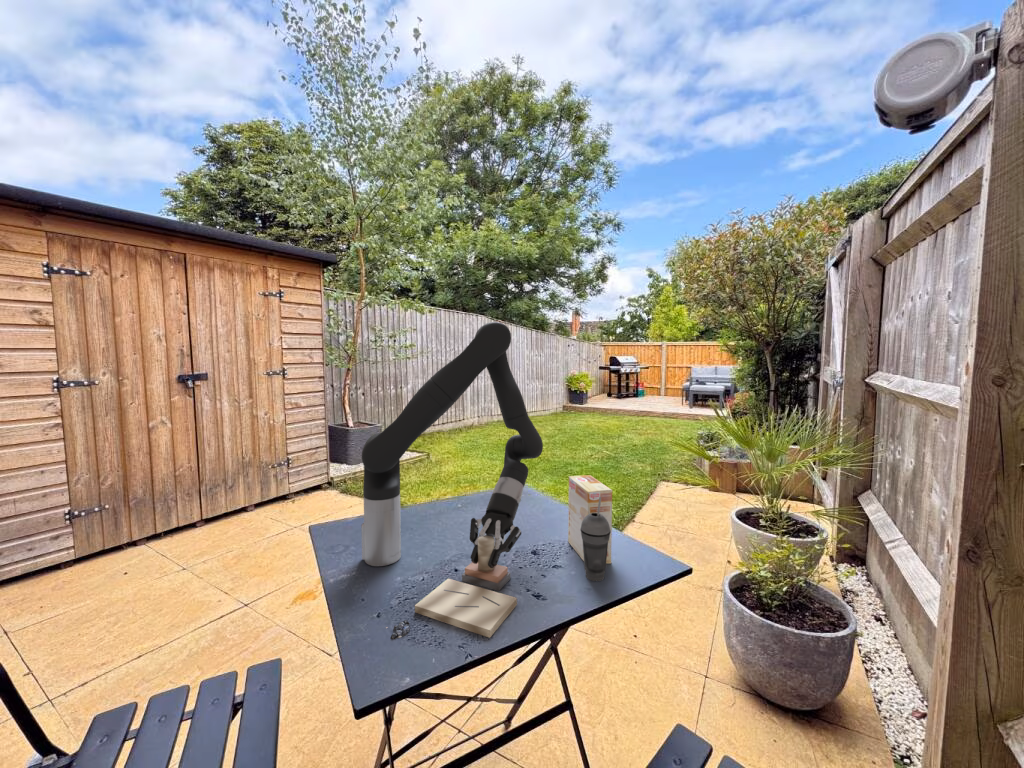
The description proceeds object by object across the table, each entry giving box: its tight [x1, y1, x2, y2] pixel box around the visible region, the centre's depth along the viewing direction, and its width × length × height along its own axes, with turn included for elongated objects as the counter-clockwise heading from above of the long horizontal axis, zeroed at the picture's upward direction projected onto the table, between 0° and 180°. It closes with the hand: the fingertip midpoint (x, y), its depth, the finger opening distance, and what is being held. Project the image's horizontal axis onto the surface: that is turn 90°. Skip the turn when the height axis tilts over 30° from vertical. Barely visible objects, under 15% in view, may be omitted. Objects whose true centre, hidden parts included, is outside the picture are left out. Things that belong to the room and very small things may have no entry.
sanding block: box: [461, 536, 511, 592], centre depth 100 cm, size 10×6×10 cm, turn 64°
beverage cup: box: [580, 497, 611, 582], centre depth 101 cm, size 7×7×20 cm
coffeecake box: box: [567, 474, 613, 565], centre depth 114 cm, size 15×7×20 cm, turn 12°
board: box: [414, 578, 518, 638], centre depth 88 cm, size 18×12×2 cm, turn 64°
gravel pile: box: [385, 619, 411, 640], centre depth 82 cm, size 7×8×2 cm
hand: (482, 564), depth 98 cm, fingers closed on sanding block, 4 cm apart
